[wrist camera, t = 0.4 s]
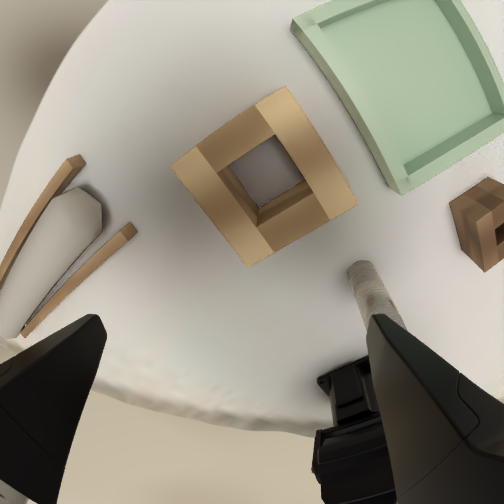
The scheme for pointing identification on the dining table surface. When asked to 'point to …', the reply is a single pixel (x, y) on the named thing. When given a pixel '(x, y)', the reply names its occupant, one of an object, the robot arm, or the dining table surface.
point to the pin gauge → (371, 293)
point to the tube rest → (50, 192)
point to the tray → (408, 80)
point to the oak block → (281, 208)
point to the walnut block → (481, 222)
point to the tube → (48, 256)
